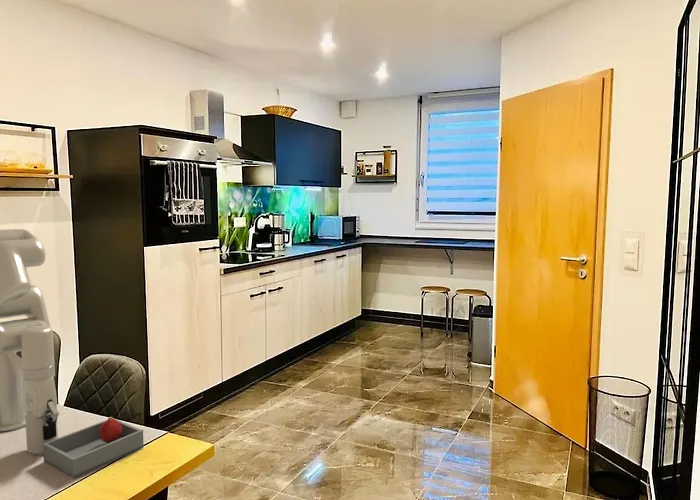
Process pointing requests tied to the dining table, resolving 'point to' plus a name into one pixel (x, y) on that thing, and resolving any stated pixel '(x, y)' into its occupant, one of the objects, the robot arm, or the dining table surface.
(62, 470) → the tote
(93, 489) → the dining table surface
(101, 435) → the onion
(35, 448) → the can
